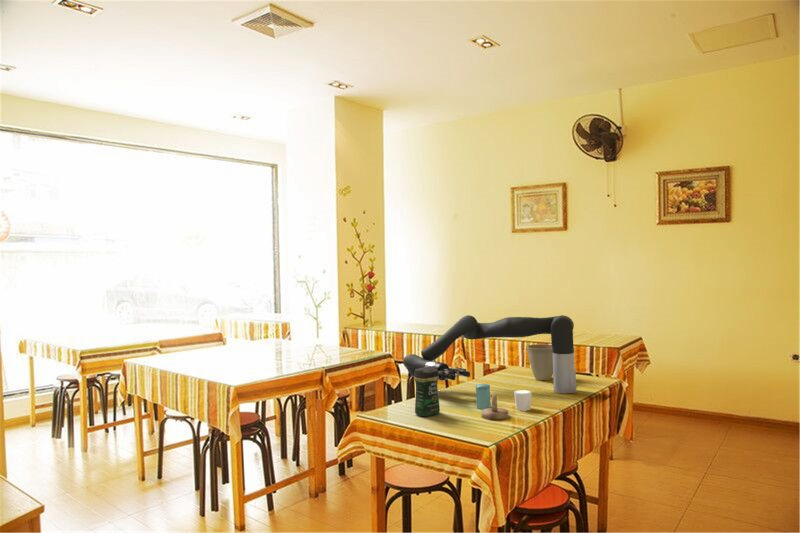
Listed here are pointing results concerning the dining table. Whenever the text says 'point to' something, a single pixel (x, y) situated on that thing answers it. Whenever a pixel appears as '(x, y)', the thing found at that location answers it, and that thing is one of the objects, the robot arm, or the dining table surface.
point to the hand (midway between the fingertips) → (462, 376)
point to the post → (494, 411)
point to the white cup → (522, 400)
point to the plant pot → (541, 360)
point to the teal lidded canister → (483, 396)
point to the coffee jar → (426, 391)
